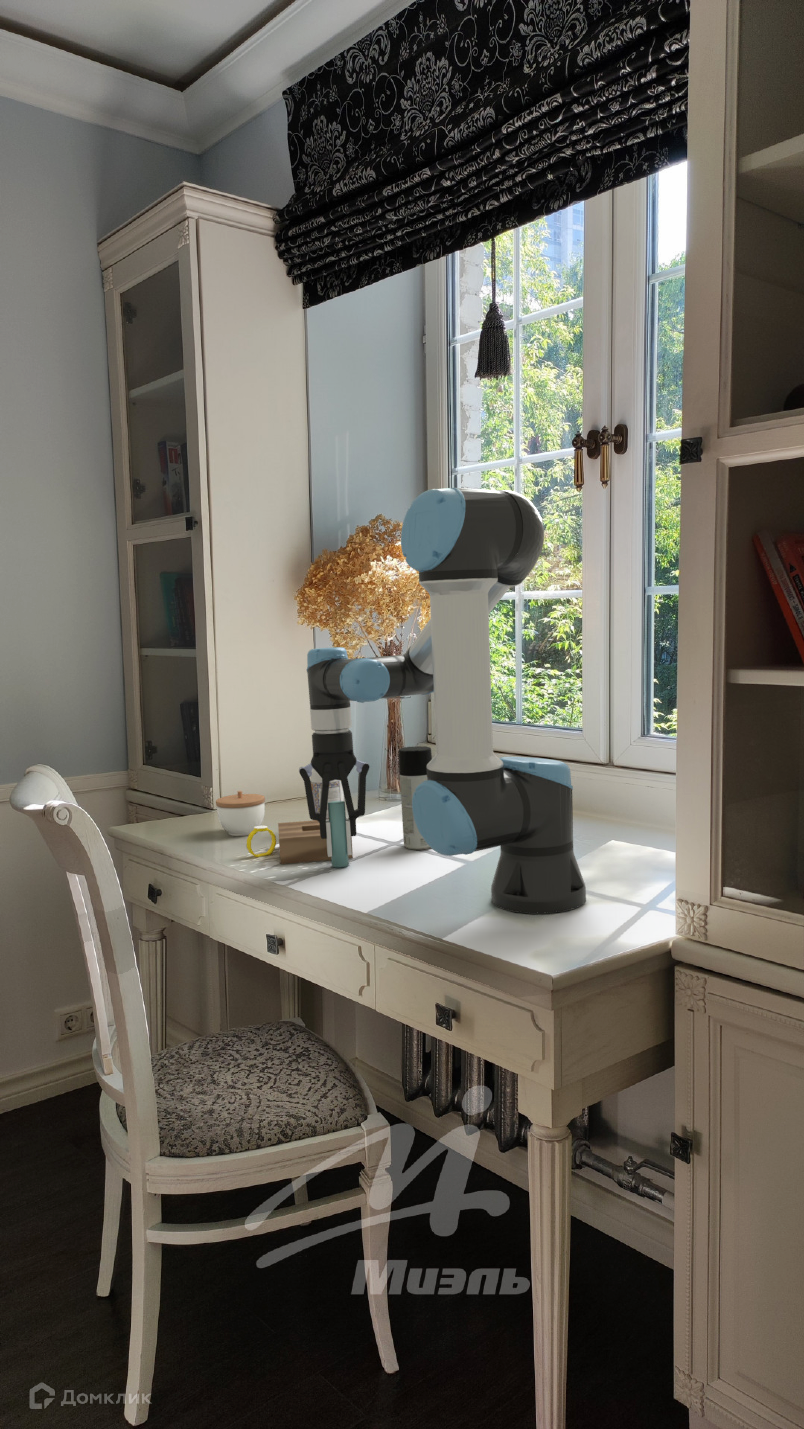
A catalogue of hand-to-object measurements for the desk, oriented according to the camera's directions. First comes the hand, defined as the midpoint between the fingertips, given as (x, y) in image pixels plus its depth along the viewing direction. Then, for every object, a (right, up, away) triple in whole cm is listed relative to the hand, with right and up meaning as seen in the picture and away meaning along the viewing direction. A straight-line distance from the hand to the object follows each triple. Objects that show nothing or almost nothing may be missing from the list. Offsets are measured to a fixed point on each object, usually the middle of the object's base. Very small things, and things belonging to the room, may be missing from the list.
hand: (339, 854), depth 182 cm
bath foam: (-4, 0, +29) cm, 29 cm away
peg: (0, -2, 0) cm, 2 cm away
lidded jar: (-24, 0, +33) cm, 40 cm away
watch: (-16, -2, +12) cm, 20 cm away
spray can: (+15, 0, +13) cm, 20 cm away
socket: (-6, -1, +12) cm, 13 cm away
